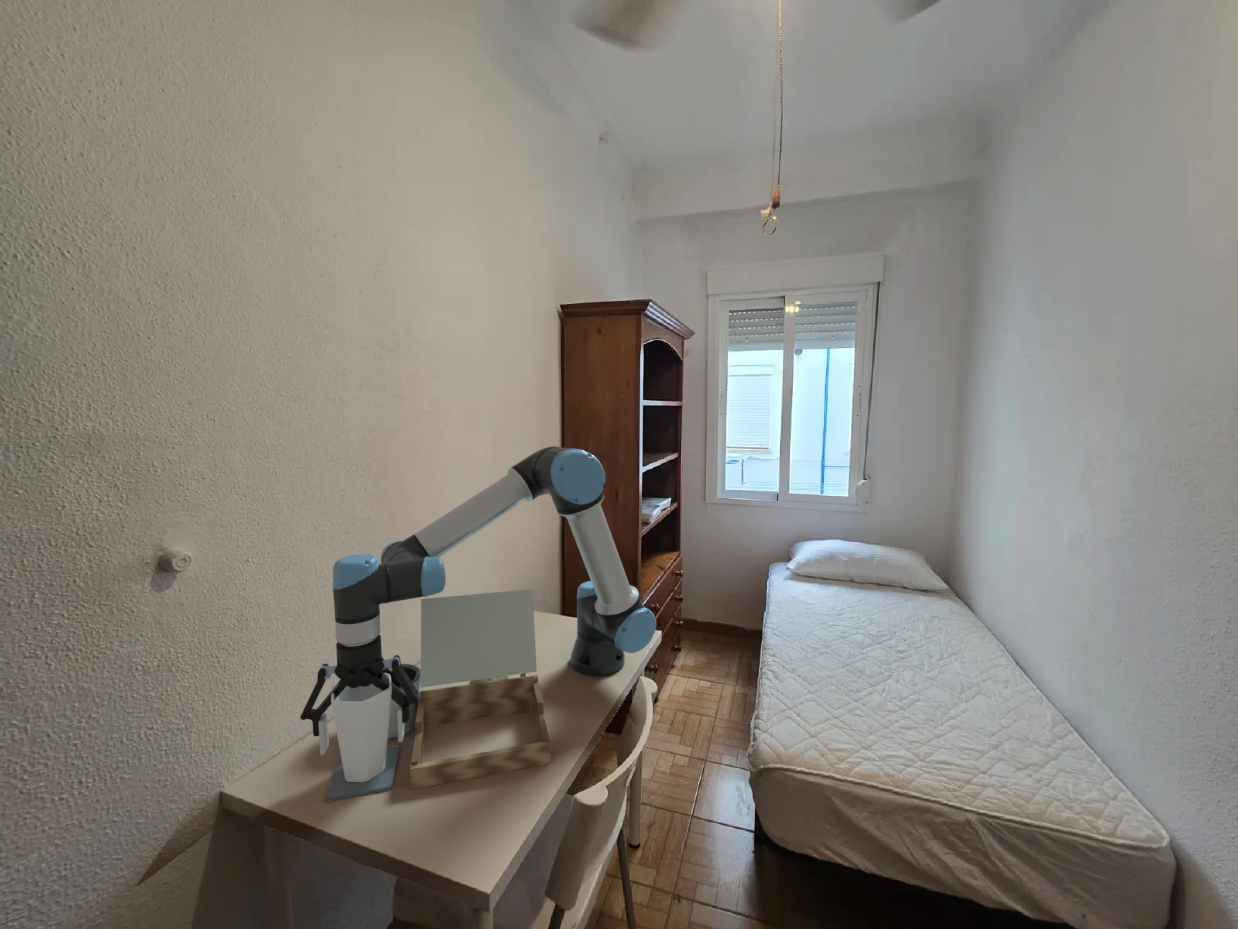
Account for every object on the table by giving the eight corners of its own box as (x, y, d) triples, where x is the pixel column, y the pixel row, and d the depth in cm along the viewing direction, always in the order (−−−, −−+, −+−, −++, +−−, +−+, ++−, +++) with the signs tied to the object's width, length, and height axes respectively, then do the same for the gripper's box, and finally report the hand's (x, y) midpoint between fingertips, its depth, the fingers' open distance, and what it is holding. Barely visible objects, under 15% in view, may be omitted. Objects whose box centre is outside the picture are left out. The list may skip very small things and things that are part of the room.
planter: (434, 720, 114) (433, 673, 113) (382, 750, 104) (380, 699, 103) (402, 702, 121) (400, 657, 120) (350, 728, 111) (348, 680, 110)
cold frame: (535, 696, 124) (534, 634, 122) (550, 763, 101) (550, 687, 99) (422, 713, 117) (420, 647, 115) (410, 789, 93) (407, 708, 92)
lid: (536, 671, 118) (536, 671, 119) (532, 589, 123) (532, 589, 125) (420, 687, 111) (421, 686, 112) (421, 599, 116) (421, 599, 117)
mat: (399, 747, 105) (399, 745, 105) (391, 789, 93) (391, 786, 93) (341, 757, 102) (341, 754, 102) (324, 801, 90) (324, 798, 90)
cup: (352, 799, 90) (348, 709, 88) (321, 776, 95) (317, 691, 94) (407, 763, 99) (404, 681, 98) (376, 744, 105) (373, 666, 103)
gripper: (430, 622, 102) (433, 721, 104) (290, 637, 95) (296, 742, 97) (427, 638, 95) (430, 744, 97) (275, 655, 88) (283, 769, 90)
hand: (363, 743), depth 97 cm, fingers open, 13 cm apart
